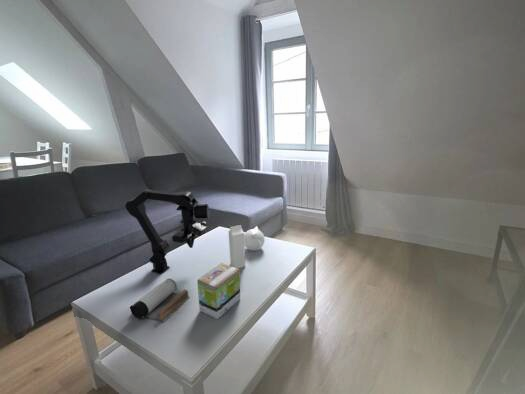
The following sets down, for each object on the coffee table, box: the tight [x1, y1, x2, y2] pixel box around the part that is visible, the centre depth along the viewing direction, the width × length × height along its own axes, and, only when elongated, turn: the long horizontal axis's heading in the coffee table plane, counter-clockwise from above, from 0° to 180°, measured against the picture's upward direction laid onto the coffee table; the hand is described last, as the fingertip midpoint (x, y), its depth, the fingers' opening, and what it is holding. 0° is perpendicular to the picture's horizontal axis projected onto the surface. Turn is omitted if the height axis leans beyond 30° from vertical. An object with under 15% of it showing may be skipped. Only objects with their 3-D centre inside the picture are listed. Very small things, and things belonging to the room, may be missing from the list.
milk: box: [228, 224, 246, 269], centre depth 143 cm, size 6×6×22 cm
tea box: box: [197, 262, 241, 320], centre depth 115 cm, size 15×10×15 cm
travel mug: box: [129, 278, 178, 320], centre depth 116 cm, size 6×7×20 cm
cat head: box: [244, 226, 265, 252], centre depth 161 cm, size 15×13×12 cm
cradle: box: [132, 283, 191, 323], centre depth 117 cm, size 16×16×3 cm
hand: (191, 247), depth 139 cm, fingers closed
